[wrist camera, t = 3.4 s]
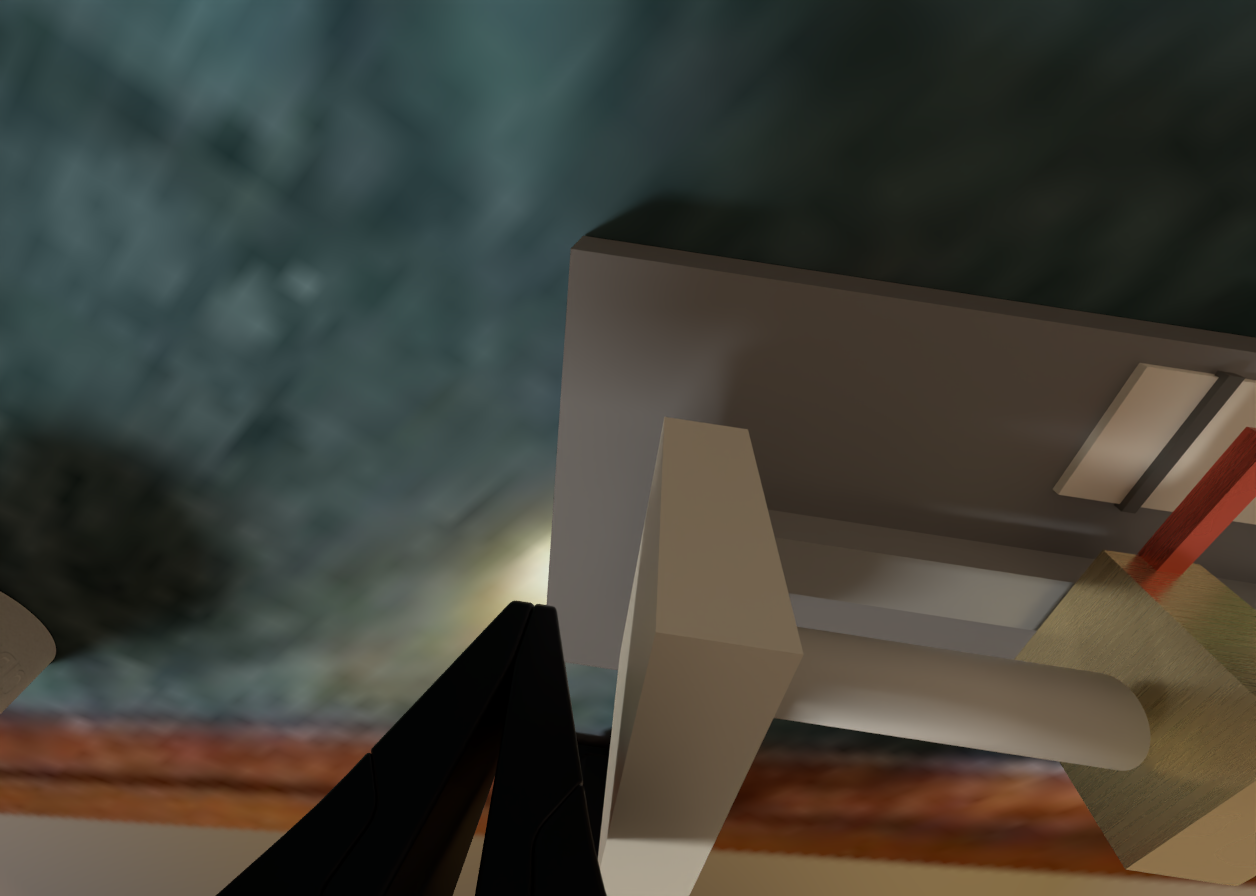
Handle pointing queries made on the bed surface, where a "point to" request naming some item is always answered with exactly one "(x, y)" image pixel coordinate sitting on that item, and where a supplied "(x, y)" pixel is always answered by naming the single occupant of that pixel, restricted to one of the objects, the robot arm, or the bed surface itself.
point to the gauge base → (885, 441)
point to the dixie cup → (21, 649)
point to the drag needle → (1173, 686)
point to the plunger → (786, 674)
